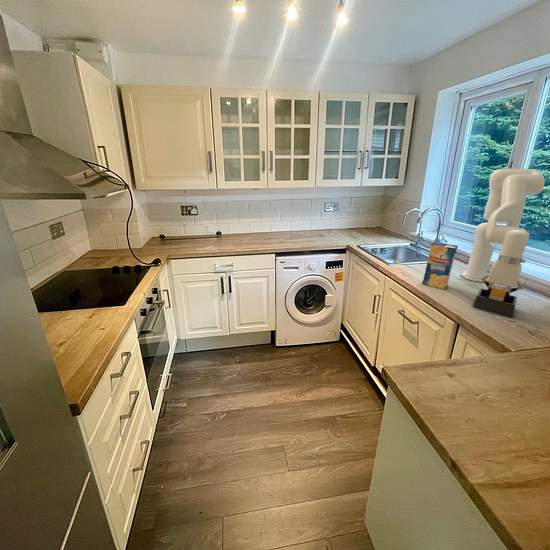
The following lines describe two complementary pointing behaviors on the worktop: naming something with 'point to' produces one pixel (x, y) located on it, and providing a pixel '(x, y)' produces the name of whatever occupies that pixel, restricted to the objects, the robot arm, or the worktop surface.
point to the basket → (495, 304)
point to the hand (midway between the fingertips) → (496, 297)
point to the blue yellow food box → (439, 264)
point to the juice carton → (498, 292)
